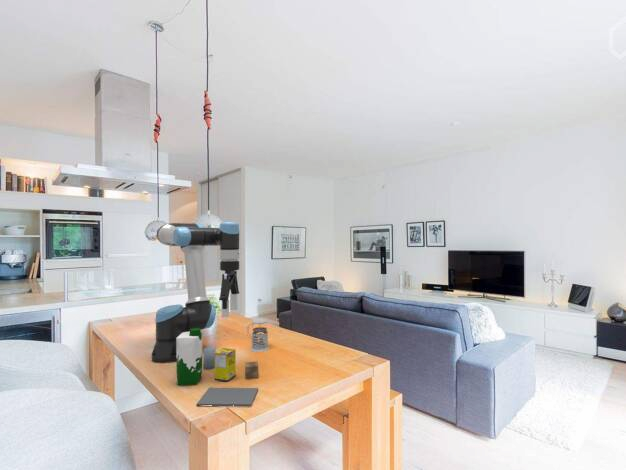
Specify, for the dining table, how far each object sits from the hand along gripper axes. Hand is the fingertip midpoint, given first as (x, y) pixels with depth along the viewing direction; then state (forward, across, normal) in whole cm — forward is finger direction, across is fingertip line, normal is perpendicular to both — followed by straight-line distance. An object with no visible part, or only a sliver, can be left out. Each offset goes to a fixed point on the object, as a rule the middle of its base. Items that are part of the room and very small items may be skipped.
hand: (229, 313), depth 133 cm
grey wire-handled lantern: (+25, +34, -6) cm, 42 cm away
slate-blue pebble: (+25, +9, +11) cm, 29 cm away
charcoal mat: (+25, -18, -4) cm, 31 cm away
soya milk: (+25, -5, +14) cm, 29 cm away
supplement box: (+25, -2, +1) cm, 25 cm away
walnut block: (+25, -1, -9) cm, 27 cm away
